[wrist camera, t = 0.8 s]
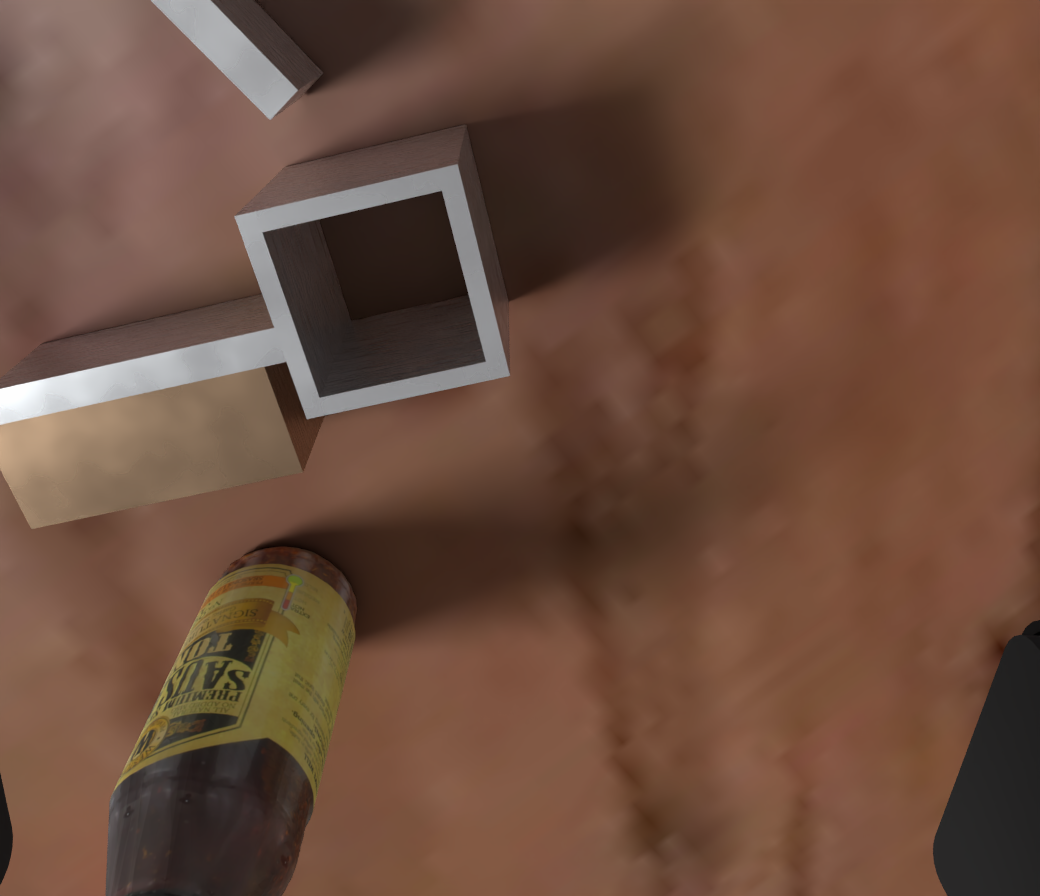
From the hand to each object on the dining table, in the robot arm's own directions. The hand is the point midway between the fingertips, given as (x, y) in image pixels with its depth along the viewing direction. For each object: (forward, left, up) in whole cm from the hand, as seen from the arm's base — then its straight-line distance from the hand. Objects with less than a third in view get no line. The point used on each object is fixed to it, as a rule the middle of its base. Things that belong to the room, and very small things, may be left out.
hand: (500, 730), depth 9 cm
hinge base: (+10, +3, -28) cm, 29 cm away
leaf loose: (+8, -7, -27) cm, 29 cm away
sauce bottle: (+13, +16, -28) cm, 35 cm away
